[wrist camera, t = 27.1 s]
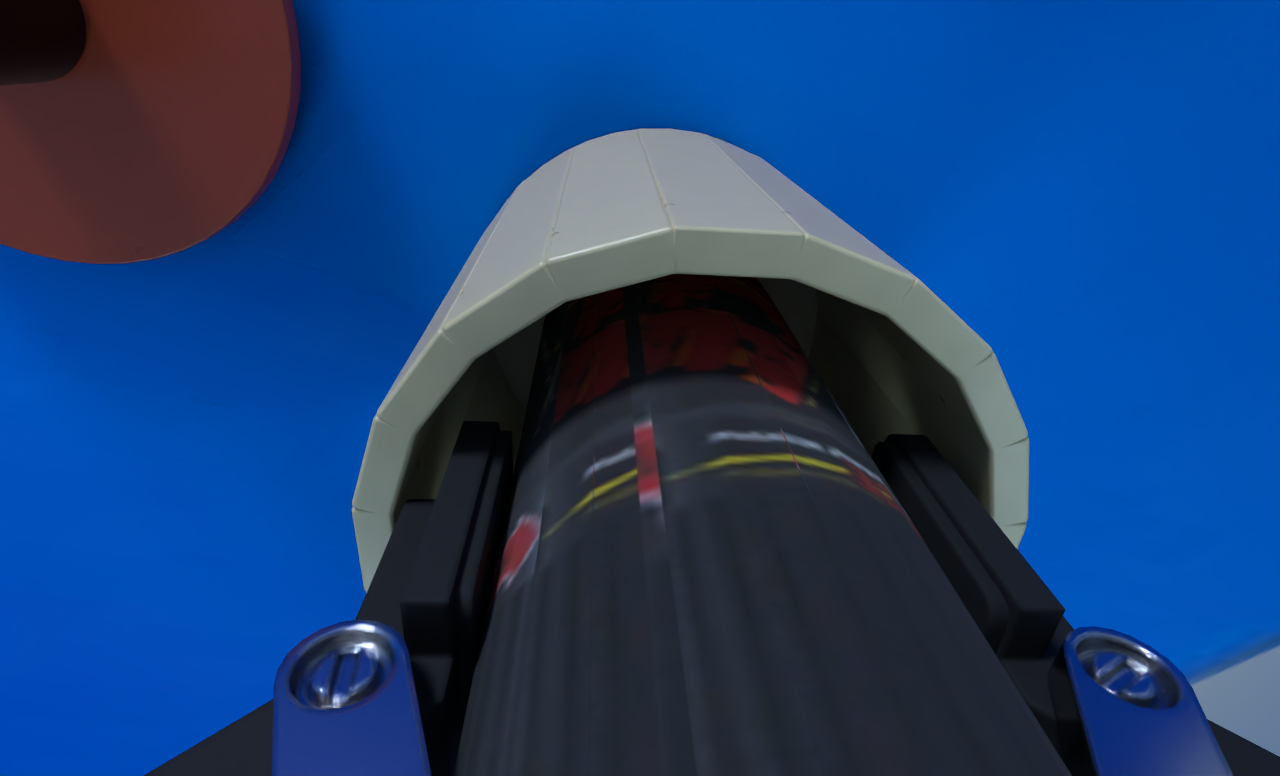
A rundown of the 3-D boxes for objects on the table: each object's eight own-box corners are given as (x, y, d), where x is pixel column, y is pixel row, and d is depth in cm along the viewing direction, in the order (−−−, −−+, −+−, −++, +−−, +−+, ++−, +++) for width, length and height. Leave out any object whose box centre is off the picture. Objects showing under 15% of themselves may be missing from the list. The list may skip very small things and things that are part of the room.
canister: (866, 141, 17) (1141, 249, 9) (798, 472, 22) (930, 766, 13) (460, 115, 17) (300, 206, 8) (479, 464, 21) (391, 770, 12)
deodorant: (823, 343, 17) (1529, 1345, 4) (657, 483, 19) (782, 1498, 6) (661, 176, 15) (1054, 1136, 2) (492, 351, 17) (107, 1475, 4)
